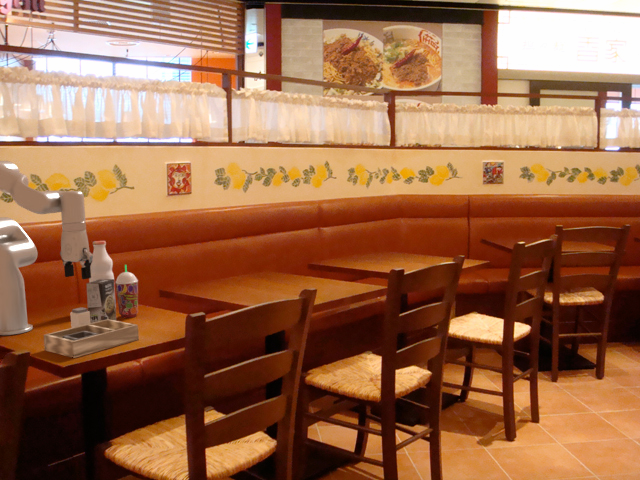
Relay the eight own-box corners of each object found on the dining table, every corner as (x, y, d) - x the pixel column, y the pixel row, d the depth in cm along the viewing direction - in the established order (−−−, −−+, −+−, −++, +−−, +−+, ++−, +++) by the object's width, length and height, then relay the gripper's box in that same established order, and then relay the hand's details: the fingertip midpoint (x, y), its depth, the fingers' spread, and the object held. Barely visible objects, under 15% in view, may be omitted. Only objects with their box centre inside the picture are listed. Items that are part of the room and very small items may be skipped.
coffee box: (104, 327, 237) (101, 283, 235) (88, 327, 239) (85, 283, 237) (117, 321, 246) (114, 278, 244) (101, 321, 248) (98, 278, 246)
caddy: (44, 350, 210) (43, 334, 209) (108, 333, 229) (107, 319, 229) (74, 358, 201) (73, 341, 200) (138, 339, 220) (137, 324, 219)
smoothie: (128, 319, 248) (124, 267, 246) (112, 317, 253) (109, 265, 250) (144, 315, 255) (141, 263, 253) (129, 313, 260) (126, 262, 257)
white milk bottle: (96, 308, 270) (92, 240, 266) (119, 308, 269) (115, 239, 266) (87, 313, 260) (82, 243, 257) (111, 313, 260) (106, 242, 257)
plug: (71, 335, 228) (70, 309, 227) (83, 332, 232) (81, 307, 231) (79, 337, 225) (77, 311, 224) (91, 334, 229) (89, 308, 228)
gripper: (49, 227, 226) (53, 277, 228) (79, 229, 216) (83, 281, 218) (69, 225, 232) (72, 274, 234) (99, 227, 222) (102, 277, 224)
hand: (77, 277), depth 226 cm, fingers open, 9 cm apart
